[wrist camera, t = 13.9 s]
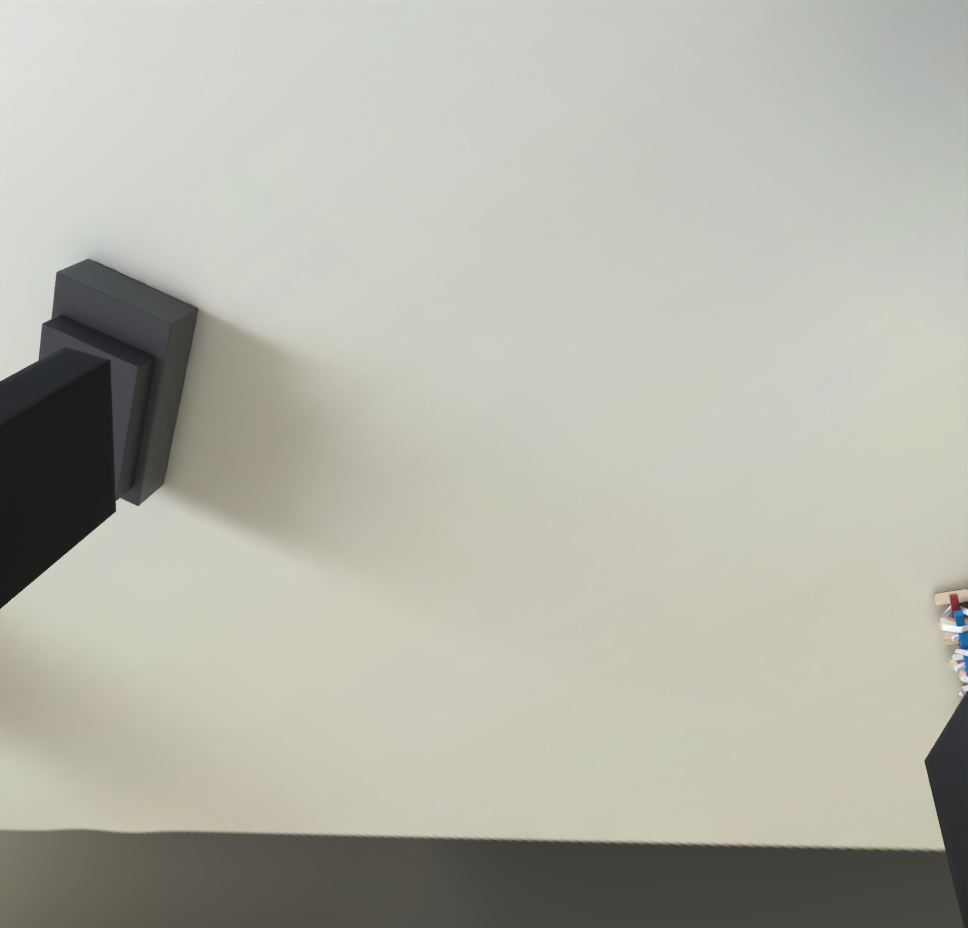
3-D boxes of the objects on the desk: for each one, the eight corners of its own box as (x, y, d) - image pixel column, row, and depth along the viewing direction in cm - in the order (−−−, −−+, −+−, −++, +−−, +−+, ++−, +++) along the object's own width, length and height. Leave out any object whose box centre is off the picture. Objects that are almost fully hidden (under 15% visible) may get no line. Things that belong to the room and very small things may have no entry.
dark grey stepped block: (87, 258, 44) (35, 280, 41) (198, 308, 44) (154, 334, 40) (65, 439, 50) (17, 471, 46) (163, 485, 49) (122, 520, 46)
